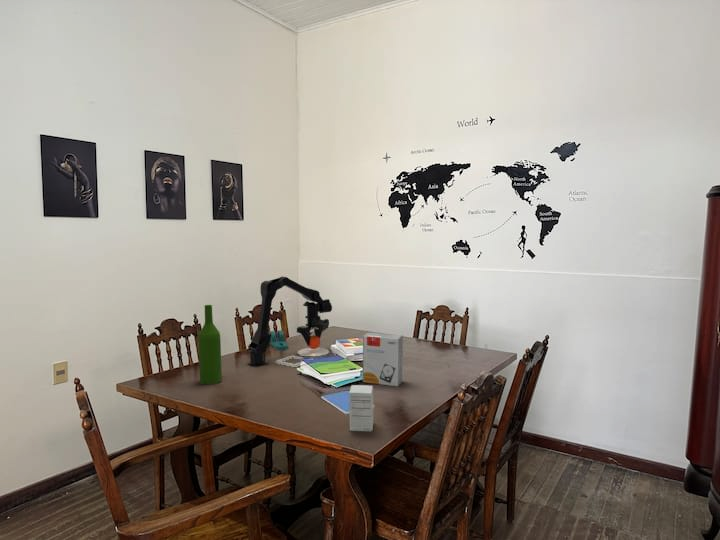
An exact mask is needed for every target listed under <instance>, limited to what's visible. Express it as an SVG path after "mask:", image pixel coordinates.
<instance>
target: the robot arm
mask: <svg viewBox="0 0 720 540" xmlns="http://www.w3.org/2000/svg"><path fill="white" fill-rule="evenodd" d="M283 287H287V288H288V289H290V290H292V291H294V292H296V293H298V294H300V295H301V296H302V297H303V298H304V299H305V300H306V301H305V302H304V303H303V305H302V306H304V307H306V315H305V317H304V318H305V319H306V320H307V321H306V323H305V325H301V326H298V327H297V328H296V333H298V334H300V335H301V336H302V337H303V338H304V340H305V341H304V342H305V343H306V346H308V345H310V336H312V334H313V332H314V336H317V337H318V338H319V339H320V340H321V337H322V333H323V332H324V331H326V330H327V329H329V326H330V320H329V319H328V318H325V319H321V316H320V315H319V314H324V313H325V314H326V313H331V312H332V310H333V306H332V302H331V300H330V299H329V298H325V299H323V298H322V297H321V295H320V291H318V290H316V289H313V288H309V287H305V286H303V285H302V284H300V283H299V282H296V281H294V280H292V279H291V278H288V277H287V276H284V275H283V276H282V275H281V276H280V277H277V278H274V279H271V280H264V281H262V282H261V283H260V287H259V288H260V296H261V305H260V311H259V317H258V318H259V319H258V325H257V329H256V331H255V332H254V334H253V337H252V341H251V342H250V343H249V344H248V346H247V349H248V351H250V352H249V357H250V362H248V365H250V366H255V367H259V366H262V365H266V364H268V362H266V352H267V349H268V347H269V346H270V344H269V342H270V343H271V341H270V339H271V334H270V332H269V325H270V323H269V322H270V317H271V309H272V305H273V304H272V303H273V300H274V298H275V297H276V295H277V292H278V290H280V289H282V288H283ZM312 330H313V332H311V331H312Z"/></svg>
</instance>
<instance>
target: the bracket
mask: <svg viewBox="0 0 720 540" xmlns="http://www.w3.org/2000/svg"><path fill="white" fill-rule="evenodd" d="M269 333H270V334H271V339H270V341H271V343H270V342H269V346H271V345H272V346H273V347H272V346H271V347H272V348H273V349H275V350H276V351H280V350H282V351H287V350H289V344H288V342H286V341H285V333H284V330H280V329H279V330H277V333H276V331H275V330H272V331H271V330H270V331H269ZM286 349H287V350H286Z"/></svg>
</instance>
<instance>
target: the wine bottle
mask: <svg viewBox="0 0 720 540" xmlns="http://www.w3.org/2000/svg"><path fill="white" fill-rule="evenodd" d="M213 319H214V317H213V305H212V304H205V305H204V325H203V327H202V328H201V330H200V331H199V333H198V337H197V338H198V340H197V341H198V361H199V362H198V363H199V365H198V367H199V368H198V369H199V383H200V382H201V383H200V384H202V383H203V384H202V385H215V384H214V383H216V384H218V382H219V383H221V382H222V380H223V379H222V378H223V377H222V375H223V372H222V349H221V348H222V347H221V346H222V345H221V344H222V343H221V333H220V331H219V329H218V328H217V326H216V325H215V324H214V322H213V321H214V320H213ZM220 381H221V382H220Z"/></svg>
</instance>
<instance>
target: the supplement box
mask: <svg viewBox="0 0 720 540" xmlns="http://www.w3.org/2000/svg"><path fill="white" fill-rule="evenodd" d="M349 391H350V392H349V413H350V414H349V431H351V432H373V427H374V408H373V405H374V385H361V384H360V385H355V384H351V386H350V389H349Z"/></svg>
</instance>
